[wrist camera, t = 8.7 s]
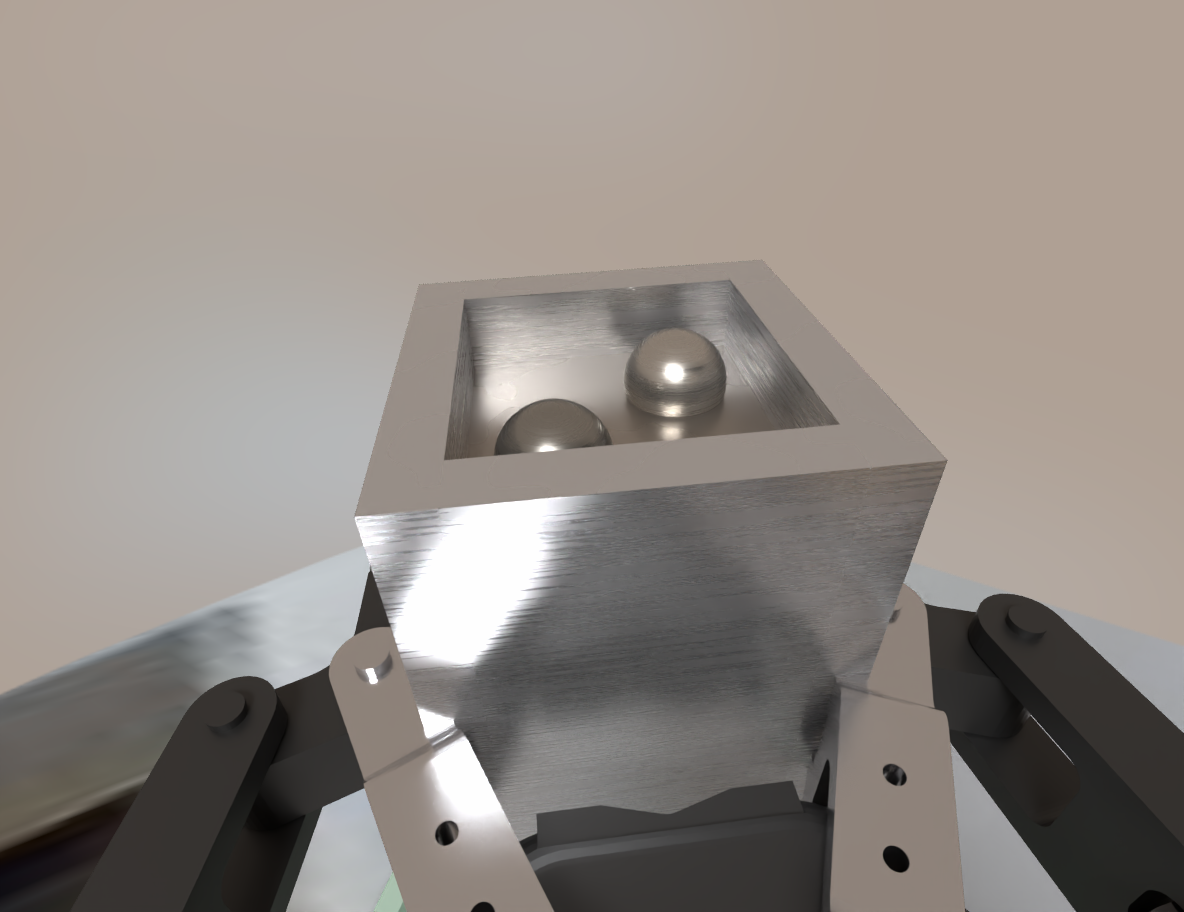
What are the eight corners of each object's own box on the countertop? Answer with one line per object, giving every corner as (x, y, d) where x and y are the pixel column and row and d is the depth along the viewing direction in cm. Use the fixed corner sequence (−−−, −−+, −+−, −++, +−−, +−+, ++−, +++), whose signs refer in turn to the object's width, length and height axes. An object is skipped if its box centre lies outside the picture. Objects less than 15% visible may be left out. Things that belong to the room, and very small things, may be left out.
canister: (710, 672, 19) (762, 259, 12) (783, 913, 14) (947, 459, 7) (500, 697, 18) (419, 284, 11) (499, 954, 13) (354, 517, 6)
